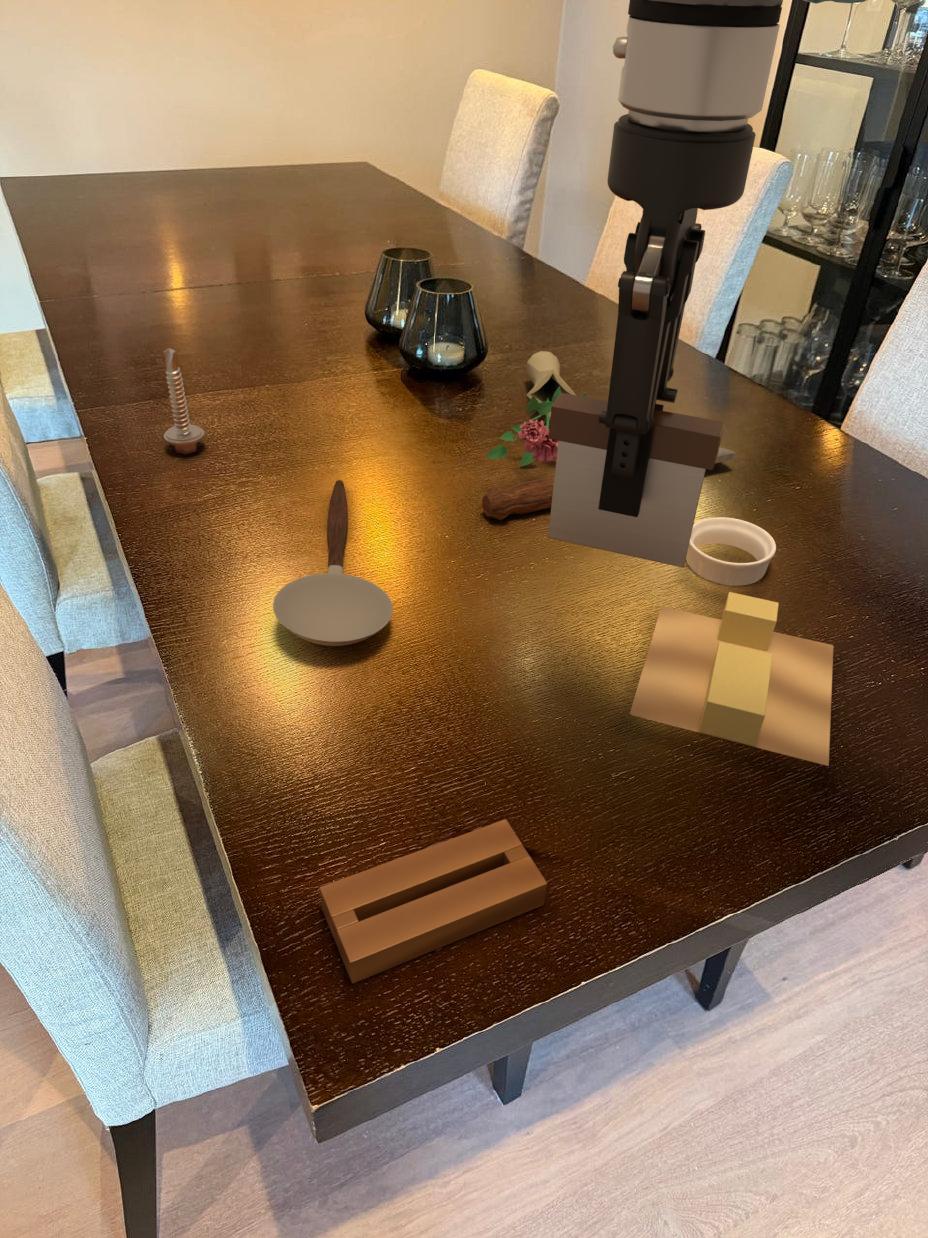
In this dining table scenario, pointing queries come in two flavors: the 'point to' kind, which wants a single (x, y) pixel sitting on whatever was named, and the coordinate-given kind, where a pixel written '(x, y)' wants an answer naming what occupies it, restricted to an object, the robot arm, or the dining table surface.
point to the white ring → (734, 535)
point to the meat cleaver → (538, 494)
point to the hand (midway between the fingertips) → (623, 499)
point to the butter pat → (748, 621)
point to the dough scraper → (667, 490)
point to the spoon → (333, 594)
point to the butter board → (793, 694)
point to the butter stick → (737, 694)
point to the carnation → (542, 397)
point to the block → (430, 899)
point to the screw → (179, 410)
